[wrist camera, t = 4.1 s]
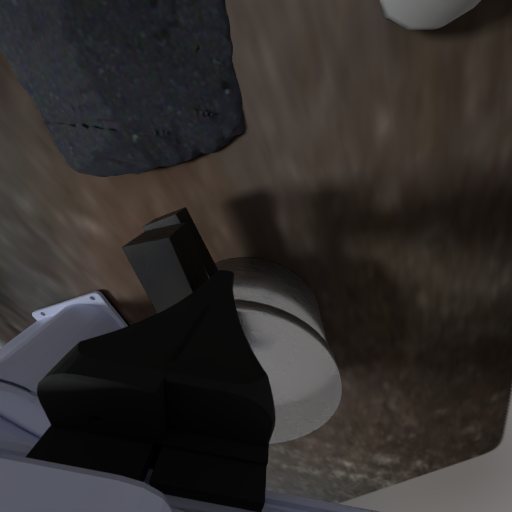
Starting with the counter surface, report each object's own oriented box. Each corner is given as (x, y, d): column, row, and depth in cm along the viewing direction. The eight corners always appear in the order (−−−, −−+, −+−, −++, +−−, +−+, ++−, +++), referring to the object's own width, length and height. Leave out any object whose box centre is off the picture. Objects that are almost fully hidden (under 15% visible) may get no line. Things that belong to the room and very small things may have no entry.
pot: (334, 353, 24) (349, 412, 19) (216, 374, 28) (202, 430, 22) (273, 166, 17) (270, 179, 11) (119, 227, 20) (61, 259, 14)
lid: (345, 425, 19) (356, 474, 17) (187, 431, 22) (174, 474, 19) (313, 187, 11) (326, 204, 8) (64, 243, 14) (8, 271, 11)
